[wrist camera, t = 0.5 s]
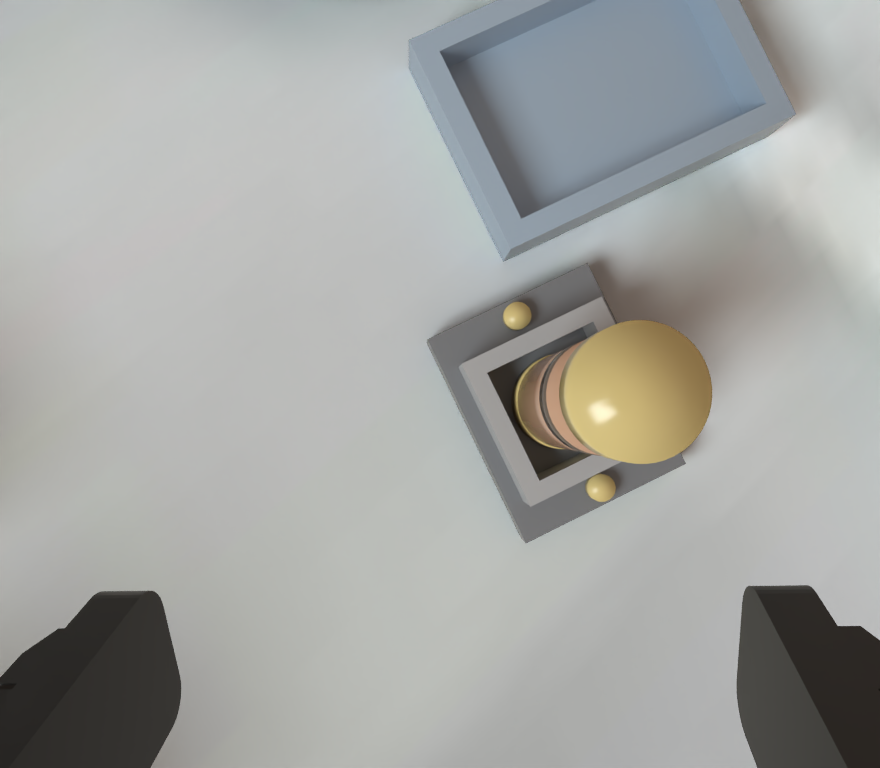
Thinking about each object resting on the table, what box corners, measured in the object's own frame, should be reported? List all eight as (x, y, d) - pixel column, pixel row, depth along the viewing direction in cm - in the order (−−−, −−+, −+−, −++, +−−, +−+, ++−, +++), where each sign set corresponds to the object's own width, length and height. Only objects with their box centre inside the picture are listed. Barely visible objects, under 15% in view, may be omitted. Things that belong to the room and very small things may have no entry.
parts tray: (408, 68, 35) (408, 40, 32) (673, -52, 36) (694, -89, 33) (503, 261, 35) (510, 248, 32) (767, 136, 36) (796, 114, 33)
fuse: (495, 380, 33) (545, 357, 21) (577, 340, 33) (672, 296, 21) (536, 463, 33) (609, 488, 21) (617, 423, 33) (736, 425, 21)
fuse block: (426, 343, 34) (428, 334, 31) (579, 269, 35) (598, 253, 31) (520, 537, 34) (533, 551, 31) (673, 461, 35) (703, 466, 31)
